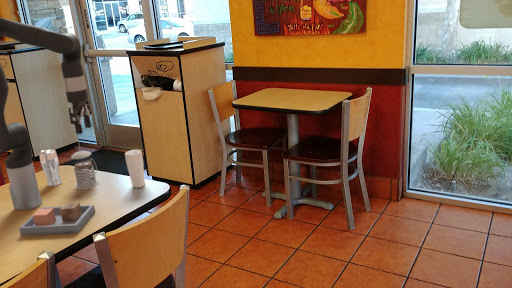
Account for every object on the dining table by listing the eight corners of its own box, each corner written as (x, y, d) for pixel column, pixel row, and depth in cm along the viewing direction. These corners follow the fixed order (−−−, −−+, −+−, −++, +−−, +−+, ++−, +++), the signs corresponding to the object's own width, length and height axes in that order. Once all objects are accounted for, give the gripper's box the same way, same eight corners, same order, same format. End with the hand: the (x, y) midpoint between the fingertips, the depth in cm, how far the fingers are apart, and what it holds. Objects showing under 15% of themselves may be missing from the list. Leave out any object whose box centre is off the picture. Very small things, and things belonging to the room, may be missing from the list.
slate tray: (21, 236, 156) (19, 228, 155) (43, 214, 171) (41, 207, 170) (78, 233, 155) (76, 225, 154) (95, 211, 170) (93, 204, 169)
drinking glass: (142, 189, 188) (137, 154, 183) (127, 189, 189) (121, 155, 185) (149, 182, 194) (144, 149, 189) (134, 182, 195) (129, 149, 191)
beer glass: (47, 182, 204) (39, 150, 199) (63, 179, 205) (56, 148, 201) (45, 188, 197) (37, 155, 193) (62, 185, 199) (55, 152, 194)
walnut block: (62, 221, 162) (59, 209, 161) (68, 215, 167) (65, 203, 166) (76, 221, 162) (73, 208, 161) (82, 214, 167) (79, 202, 165)
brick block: (35, 228, 159) (32, 215, 157) (42, 221, 164) (39, 209, 162) (49, 227, 159) (46, 214, 157) (56, 220, 163) (53, 208, 162)
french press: (87, 179, 203) (76, 125, 196) (107, 182, 198) (96, 127, 190) (70, 188, 195) (58, 132, 187) (90, 191, 190) (78, 133, 182)
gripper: (78, 91, 162) (86, 135, 167) (92, 84, 176) (100, 124, 181) (57, 93, 163) (66, 136, 168) (73, 85, 176) (81, 126, 181)
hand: (84, 130), depth 174 cm, fingers open, 8 cm apart
